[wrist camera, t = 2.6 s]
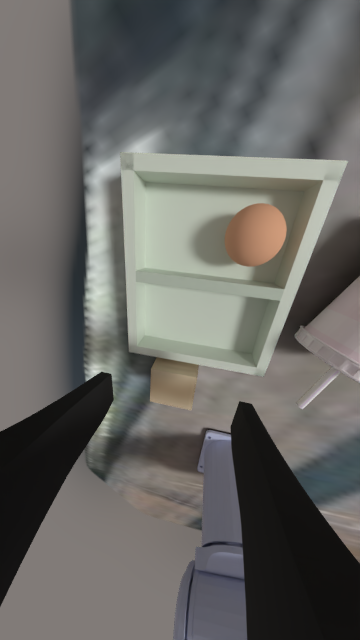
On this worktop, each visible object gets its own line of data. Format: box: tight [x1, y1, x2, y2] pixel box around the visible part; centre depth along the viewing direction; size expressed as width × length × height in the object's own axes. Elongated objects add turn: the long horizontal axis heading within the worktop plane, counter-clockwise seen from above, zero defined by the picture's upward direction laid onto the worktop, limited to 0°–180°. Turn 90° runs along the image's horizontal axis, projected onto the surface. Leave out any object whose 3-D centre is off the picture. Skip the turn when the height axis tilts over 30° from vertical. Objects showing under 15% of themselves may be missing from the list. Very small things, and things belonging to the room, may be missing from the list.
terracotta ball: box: [225, 203, 287, 267], centre depth 11 cm, size 4×4×4 cm
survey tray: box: [120, 152, 348, 377], centre depth 13 cm, size 14×12×3 cm
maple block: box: [150, 357, 199, 410], centre depth 17 cm, size 4×4×4 cm
